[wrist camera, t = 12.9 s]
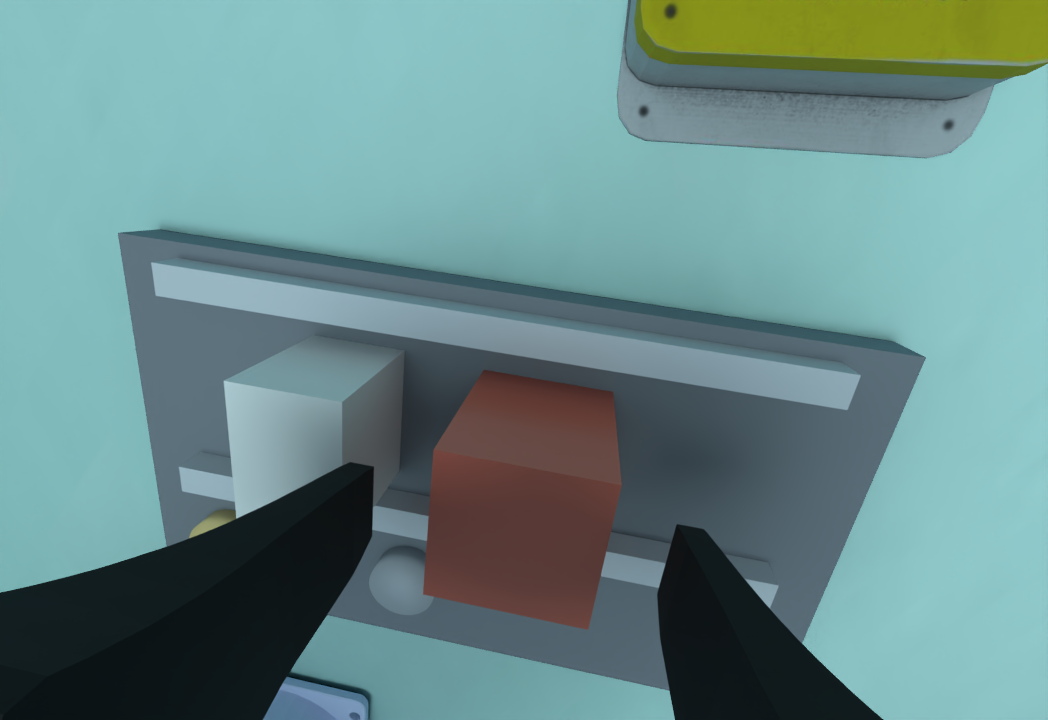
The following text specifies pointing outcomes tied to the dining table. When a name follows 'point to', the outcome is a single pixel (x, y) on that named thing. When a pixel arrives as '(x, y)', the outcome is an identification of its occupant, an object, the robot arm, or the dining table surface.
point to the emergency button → (823, 71)
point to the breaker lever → (313, 418)
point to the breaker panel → (548, 354)
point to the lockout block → (524, 499)
